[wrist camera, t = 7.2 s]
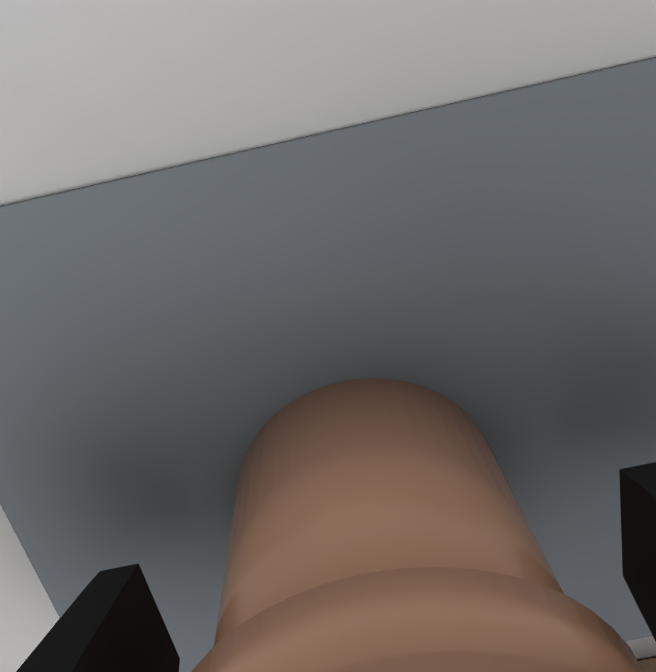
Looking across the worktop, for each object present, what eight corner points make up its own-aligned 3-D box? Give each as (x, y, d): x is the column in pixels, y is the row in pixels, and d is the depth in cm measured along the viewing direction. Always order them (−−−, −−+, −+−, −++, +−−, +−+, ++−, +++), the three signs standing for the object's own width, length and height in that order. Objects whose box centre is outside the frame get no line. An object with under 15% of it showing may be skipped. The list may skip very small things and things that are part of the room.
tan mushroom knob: (499, 327, 11) (707, 595, 5) (528, 576, 13) (694, 943, 8) (177, 396, 11) (56, 719, 6) (259, 628, 13) (232, 1019, 8)
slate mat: (752, 35, 9) (762, 33, 9) (722, 614, 14) (727, 621, 14) (-131, 235, 10) (-138, 239, 10) (122, 724, 15) (120, 733, 15)
